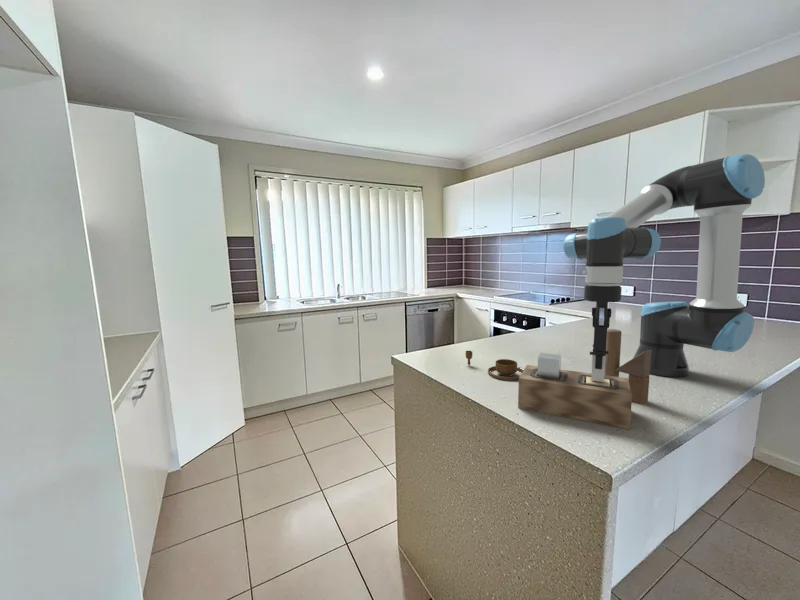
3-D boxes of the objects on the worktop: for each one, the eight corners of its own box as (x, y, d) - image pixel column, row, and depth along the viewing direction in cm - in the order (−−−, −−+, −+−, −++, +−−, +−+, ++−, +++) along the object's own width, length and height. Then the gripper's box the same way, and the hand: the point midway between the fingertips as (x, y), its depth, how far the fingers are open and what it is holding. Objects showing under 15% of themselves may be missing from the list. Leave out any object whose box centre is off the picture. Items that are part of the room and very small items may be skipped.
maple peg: (607, 406, 84) (609, 379, 83) (608, 414, 79) (610, 386, 78) (585, 402, 86) (586, 376, 85) (584, 410, 82) (585, 382, 81)
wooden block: (641, 404, 87) (645, 337, 85) (599, 390, 96) (603, 329, 94) (648, 401, 89) (653, 335, 86) (607, 388, 98) (610, 328, 96)
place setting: (492, 385, 103) (492, 367, 103) (462, 366, 122) (462, 351, 122) (539, 378, 108) (540, 361, 108) (503, 361, 127) (503, 346, 127)
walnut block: (625, 408, 85) (627, 377, 84) (629, 429, 74) (632, 394, 73) (526, 391, 97) (526, 364, 96) (518, 407, 86) (518, 377, 85)
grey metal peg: (560, 380, 88) (561, 355, 88) (558, 386, 84) (559, 360, 83) (539, 377, 91) (540, 352, 90) (537, 383, 87) (538, 357, 86)
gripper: (585, 282, 86) (581, 370, 89) (584, 286, 75) (579, 386, 78) (619, 282, 83) (614, 374, 85) (623, 286, 72) (617, 392, 74)
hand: (597, 380), depth 82 cm, fingers closed
